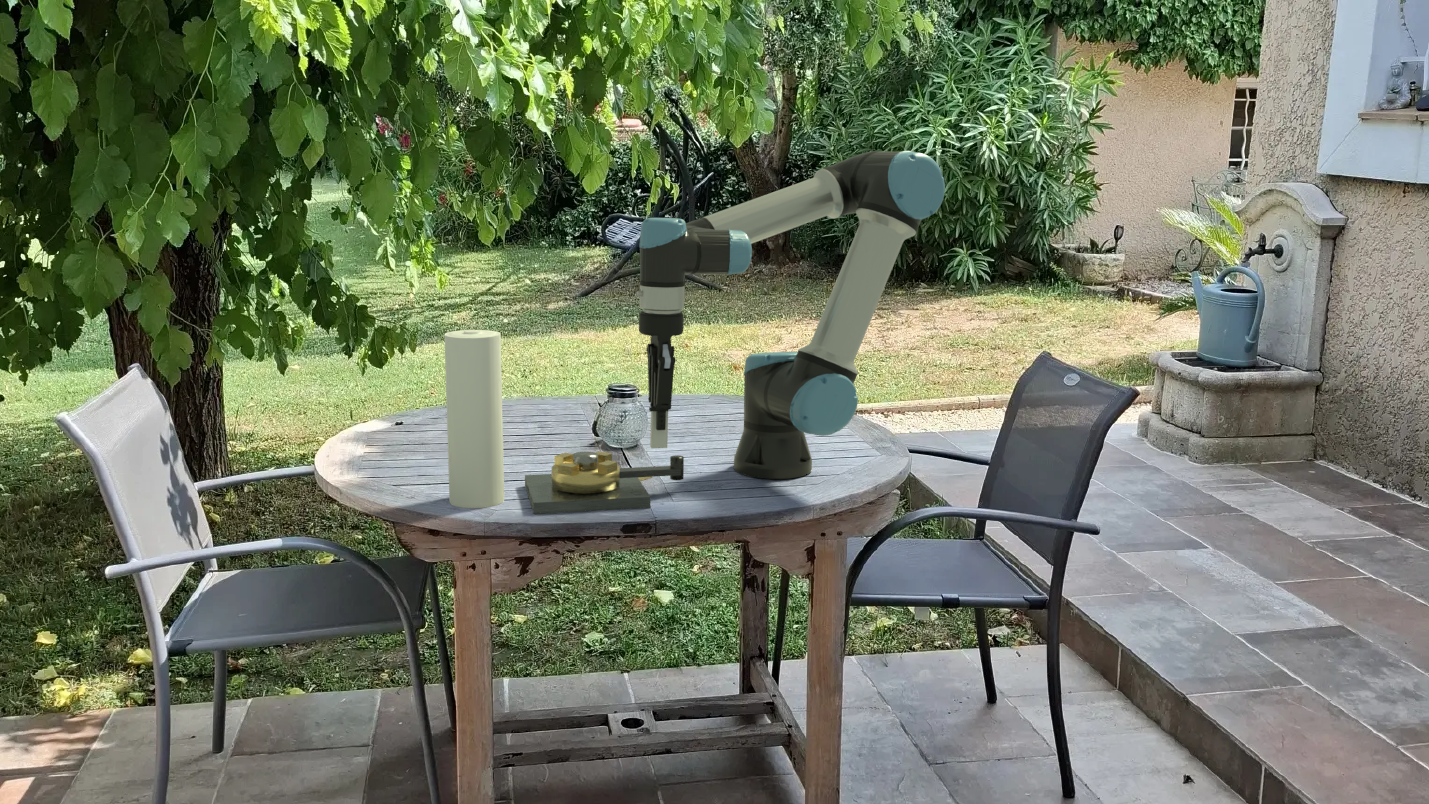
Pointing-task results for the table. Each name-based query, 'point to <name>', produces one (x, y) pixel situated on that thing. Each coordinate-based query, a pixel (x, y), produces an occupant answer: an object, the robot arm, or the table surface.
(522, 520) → the table surface
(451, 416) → the cylinder container
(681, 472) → the ring nut
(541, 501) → the collar plate
